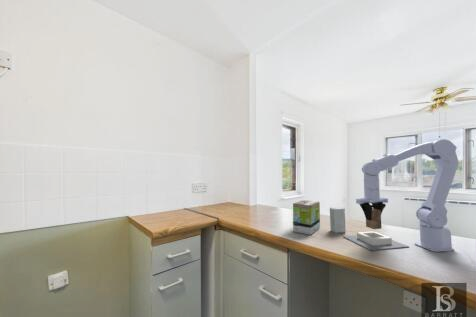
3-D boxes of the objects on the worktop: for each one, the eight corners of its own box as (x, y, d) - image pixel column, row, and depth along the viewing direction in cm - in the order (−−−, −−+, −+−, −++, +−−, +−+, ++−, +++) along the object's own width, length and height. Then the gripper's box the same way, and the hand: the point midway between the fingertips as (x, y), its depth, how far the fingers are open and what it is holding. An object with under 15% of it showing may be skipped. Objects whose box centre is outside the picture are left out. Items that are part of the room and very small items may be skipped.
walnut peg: (373, 226, 91) (373, 208, 92) (381, 228, 87) (380, 210, 88) (366, 226, 91) (365, 208, 91) (373, 229, 87) (372, 210, 87)
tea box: (312, 235, 98) (311, 205, 99) (292, 231, 104) (291, 203, 105) (320, 227, 110) (319, 200, 111) (302, 224, 116) (301, 199, 117)
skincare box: (340, 229, 106) (340, 206, 107) (346, 232, 102) (345, 208, 102) (329, 230, 106) (329, 207, 106) (334, 233, 101) (334, 208, 102)
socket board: (376, 234, 98) (375, 228, 98) (409, 247, 83) (408, 240, 83) (343, 237, 95) (343, 230, 95) (370, 250, 80) (370, 243, 80)
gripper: (378, 187, 95) (379, 216, 95) (350, 188, 93) (351, 218, 92) (391, 189, 88) (393, 220, 88) (362, 190, 86) (363, 222, 85)
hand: (372, 219), depth 89 cm, fingers closed on walnut peg, 4 cm apart
